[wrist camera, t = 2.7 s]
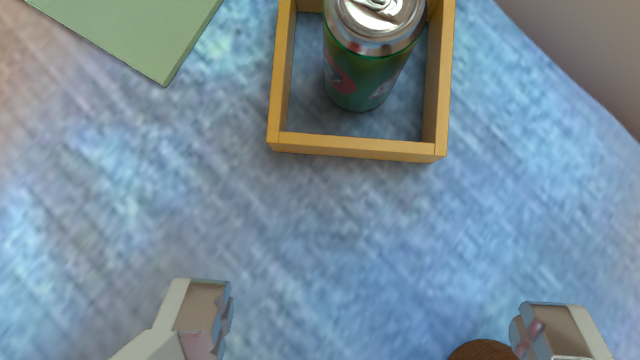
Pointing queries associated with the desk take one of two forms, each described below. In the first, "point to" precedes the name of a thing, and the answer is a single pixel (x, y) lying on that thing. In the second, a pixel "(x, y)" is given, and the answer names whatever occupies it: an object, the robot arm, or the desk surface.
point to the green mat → (137, 29)
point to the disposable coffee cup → (483, 351)
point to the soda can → (368, 47)
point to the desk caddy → (357, 147)
